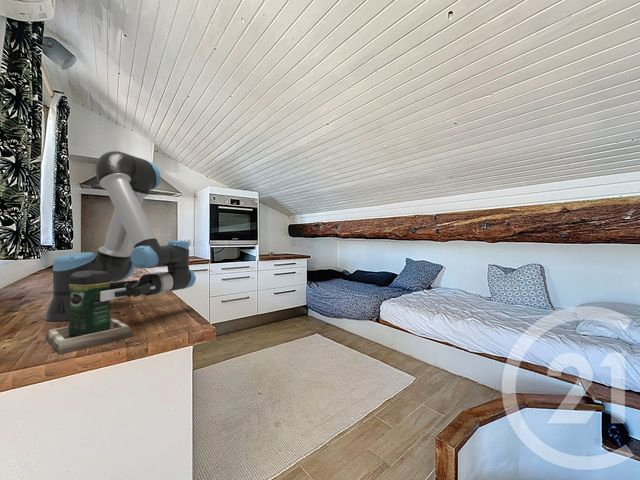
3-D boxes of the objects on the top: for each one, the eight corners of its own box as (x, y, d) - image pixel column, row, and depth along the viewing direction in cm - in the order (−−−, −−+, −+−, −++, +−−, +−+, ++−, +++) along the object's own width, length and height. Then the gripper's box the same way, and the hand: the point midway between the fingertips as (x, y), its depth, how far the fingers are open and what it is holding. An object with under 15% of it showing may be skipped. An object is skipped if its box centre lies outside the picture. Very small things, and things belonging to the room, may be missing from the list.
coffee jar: (115, 330, 82) (116, 269, 82) (87, 340, 75) (87, 272, 75) (92, 327, 85) (93, 268, 85) (62, 336, 77) (63, 271, 77)
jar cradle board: (45, 338, 79) (45, 328, 79) (112, 324, 92) (112, 316, 92) (59, 354, 68) (59, 343, 68) (132, 336, 81) (133, 327, 81)
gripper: (180, 297, 94) (113, 311, 74) (132, 291, 103) (62, 303, 84) (180, 275, 94) (113, 284, 74) (132, 271, 103) (62, 278, 84)
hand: (86, 294), depth 79 cm, fingers open, 13 cm apart
